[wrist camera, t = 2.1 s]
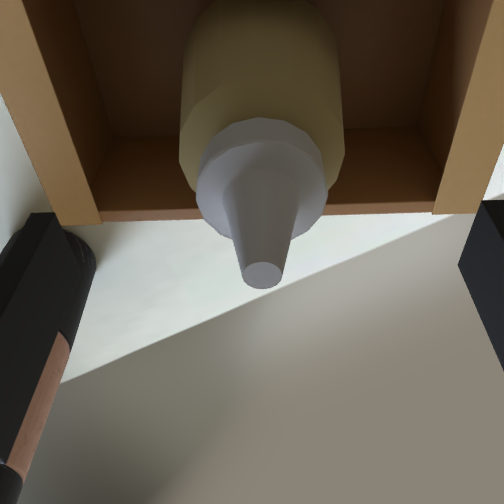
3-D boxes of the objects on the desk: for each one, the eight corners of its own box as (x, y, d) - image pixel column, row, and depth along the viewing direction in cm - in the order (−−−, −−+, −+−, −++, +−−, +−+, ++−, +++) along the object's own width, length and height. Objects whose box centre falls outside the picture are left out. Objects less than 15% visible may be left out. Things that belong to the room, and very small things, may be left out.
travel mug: (44, 294, 42) (-67, 547, 28) (-16, 236, 37) (-190, 506, 23) (117, 275, 40) (38, 535, 26) (64, 211, 35) (-71, 489, 21)
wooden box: (23, -78, 23) (-59, -39, 17) (497, -106, 22) (585, -74, 16) (96, 148, 31) (59, 225, 26) (435, 135, 30) (477, 213, 25)
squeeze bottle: (335, -41, 23) (431, 147, 10) (327, 108, 29) (383, 350, 16) (178, -30, 24) (82, 164, 11) (200, 115, 29) (154, 357, 16)
